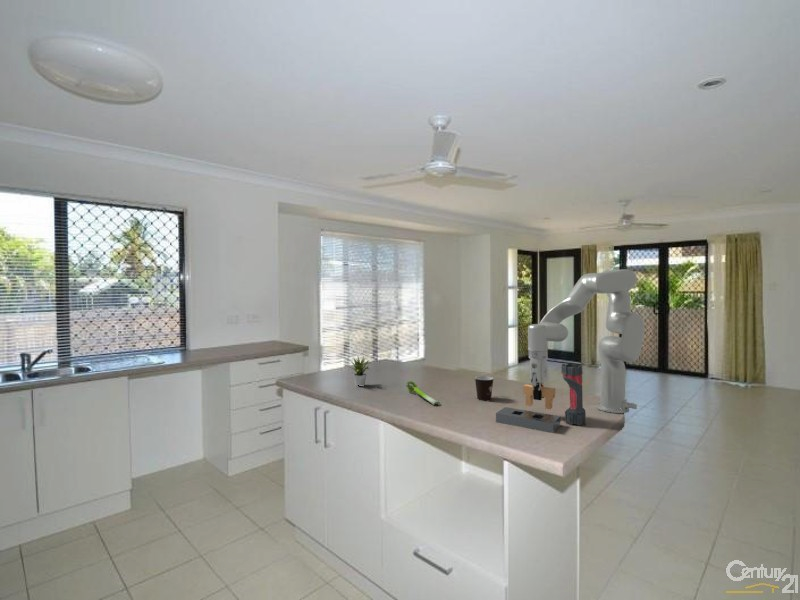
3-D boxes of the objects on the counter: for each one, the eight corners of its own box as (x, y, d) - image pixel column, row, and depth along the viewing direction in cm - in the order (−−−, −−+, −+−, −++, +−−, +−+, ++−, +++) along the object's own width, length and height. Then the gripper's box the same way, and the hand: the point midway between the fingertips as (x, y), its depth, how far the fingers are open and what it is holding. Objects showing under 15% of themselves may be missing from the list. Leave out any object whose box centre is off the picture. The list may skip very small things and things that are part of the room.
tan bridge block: (554, 407, 170) (555, 388, 170) (552, 409, 168) (553, 390, 167) (525, 402, 177) (525, 384, 177) (523, 404, 175) (523, 385, 174)
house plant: (372, 389, 218) (372, 358, 217) (346, 389, 218) (345, 358, 217) (374, 383, 232) (374, 353, 232) (349, 383, 232) (349, 354, 232)
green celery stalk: (429, 411, 186) (402, 390, 214) (443, 411, 189) (414, 391, 217) (431, 398, 186) (404, 379, 213) (445, 398, 189) (416, 379, 216)
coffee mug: (482, 402, 193) (482, 380, 192) (471, 398, 200) (471, 377, 200) (502, 399, 198) (502, 378, 198) (490, 394, 206) (490, 374, 205)
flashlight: (556, 421, 165) (557, 363, 164) (571, 419, 168) (572, 362, 167) (572, 427, 157) (572, 367, 157) (587, 424, 161) (588, 365, 160)
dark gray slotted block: (560, 425, 160) (560, 416, 160) (553, 432, 152) (553, 423, 152) (505, 415, 173) (505, 407, 173) (495, 421, 165) (495, 413, 165)
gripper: (541, 358, 163) (542, 405, 163) (552, 351, 176) (553, 395, 177) (522, 356, 167) (523, 402, 168) (535, 350, 180) (535, 392, 181)
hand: (538, 398), depth 172 cm, fingers closed on tan bridge block, 3 cm apart
